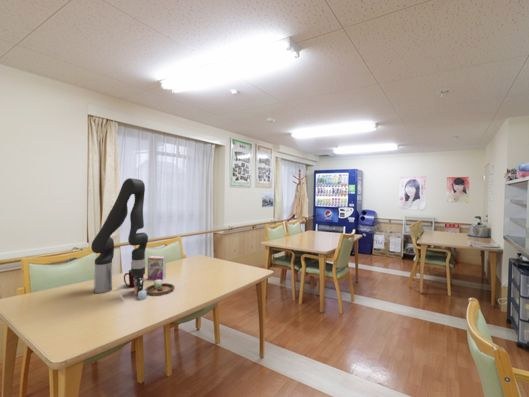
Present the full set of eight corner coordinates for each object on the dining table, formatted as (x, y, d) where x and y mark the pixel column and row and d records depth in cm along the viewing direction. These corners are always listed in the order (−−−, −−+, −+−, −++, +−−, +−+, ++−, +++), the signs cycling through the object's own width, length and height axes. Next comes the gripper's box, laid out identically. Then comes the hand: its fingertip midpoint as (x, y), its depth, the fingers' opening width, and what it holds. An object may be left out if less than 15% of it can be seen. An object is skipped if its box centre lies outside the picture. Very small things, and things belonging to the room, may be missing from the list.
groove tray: (149, 299, 152) (149, 295, 151) (142, 291, 164) (142, 286, 164) (178, 293, 162) (178, 288, 162) (168, 285, 175) (168, 281, 174)
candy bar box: (147, 281, 183) (147, 257, 183) (150, 278, 188) (151, 255, 188) (162, 282, 182) (162, 258, 181) (166, 279, 187) (166, 256, 186)
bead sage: (155, 290, 163) (155, 282, 163) (153, 288, 167) (153, 280, 166) (162, 288, 166) (162, 280, 166) (160, 286, 169) (160, 278, 169)
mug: (127, 292, 163) (127, 274, 162) (120, 288, 168) (121, 271, 168) (146, 286, 172) (146, 270, 172) (139, 283, 178) (139, 267, 177)
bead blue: (139, 302, 148) (139, 293, 148) (137, 300, 151) (137, 291, 151) (147, 300, 150) (147, 292, 150) (145, 298, 154) (145, 289, 154)
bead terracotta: (135, 297, 155) (135, 289, 155) (133, 295, 158) (133, 286, 158) (143, 295, 157) (143, 287, 157) (141, 293, 161) (141, 285, 161)
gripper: (128, 264, 161) (128, 292, 161) (134, 270, 150) (134, 300, 150) (141, 263, 165) (141, 290, 166) (148, 268, 154) (148, 297, 155)
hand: (138, 294), depth 158 cm, fingers closed on bead terracotta, 4 cm apart
